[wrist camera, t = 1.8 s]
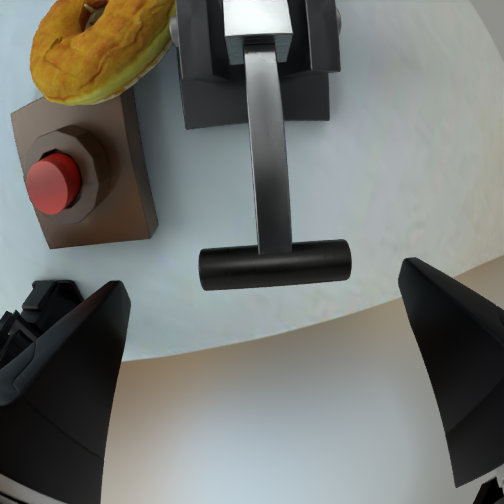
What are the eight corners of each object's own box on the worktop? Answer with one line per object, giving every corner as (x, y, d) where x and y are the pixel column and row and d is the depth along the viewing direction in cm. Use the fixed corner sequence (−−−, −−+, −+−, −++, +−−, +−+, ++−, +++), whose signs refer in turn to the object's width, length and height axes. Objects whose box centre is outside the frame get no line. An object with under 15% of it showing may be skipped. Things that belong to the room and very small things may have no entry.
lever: (336, 269, 11) (356, 290, 9) (209, 278, 11) (198, 302, 9) (311, 11, 8) (323, -19, 6) (193, 18, 9) (180, -13, 6)
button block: (159, 224, 21) (143, 253, 18) (61, 236, 21) (39, 261, 18) (130, 68, 15) (104, 66, 11) (26, 109, 15) (-6, 119, 11)
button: (87, 199, 16) (74, 210, 14) (49, 206, 16) (36, 218, 15) (74, 146, 14) (59, 154, 12) (35, 159, 14) (20, 168, 13)
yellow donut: (63, -31, 7) (90, -11, 11) (0, 105, 10) (39, 112, 13) (202, -69, 6) (218, -32, 10) (124, 93, 9) (163, 113, 13)
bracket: (325, 118, 17) (393, 154, 9) (189, 127, 17) (137, 170, 9) (315, -15, 12) (372, -79, 3) (175, -7, 12) (118, -67, 4)
